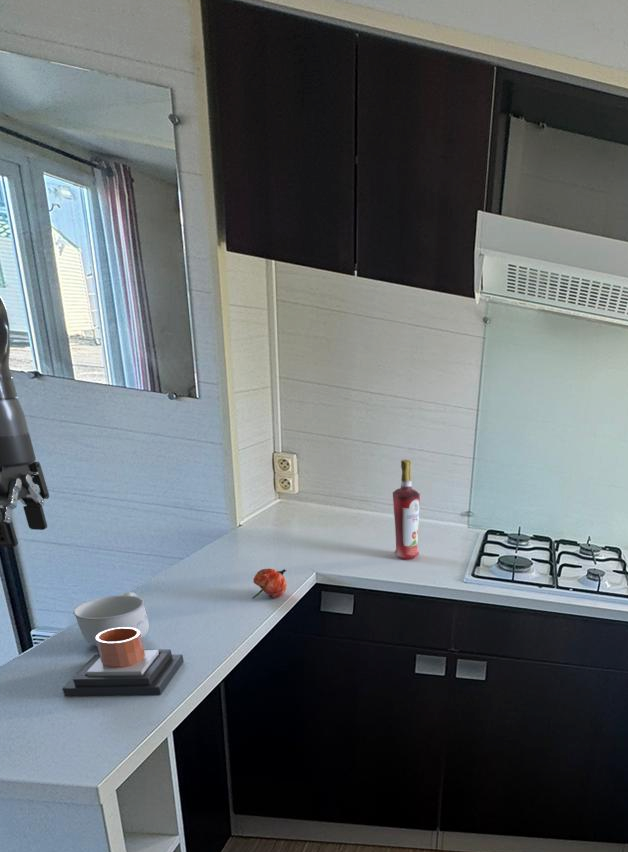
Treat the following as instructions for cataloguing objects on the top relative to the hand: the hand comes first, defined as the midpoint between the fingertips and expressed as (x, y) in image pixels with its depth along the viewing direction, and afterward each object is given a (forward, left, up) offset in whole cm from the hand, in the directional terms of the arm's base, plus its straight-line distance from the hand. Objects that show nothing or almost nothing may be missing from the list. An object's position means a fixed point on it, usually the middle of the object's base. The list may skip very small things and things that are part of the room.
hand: (24, 537), depth 97 cm
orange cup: (+9, +1, -22) cm, 24 cm away
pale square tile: (+9, +1, -24) cm, 26 cm away
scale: (+9, +1, -26) cm, 28 cm away
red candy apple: (+25, +39, -26) cm, 53 cm away
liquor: (+55, +71, -26) cm, 94 cm away
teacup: (+3, +17, -26) cm, 31 cm away
